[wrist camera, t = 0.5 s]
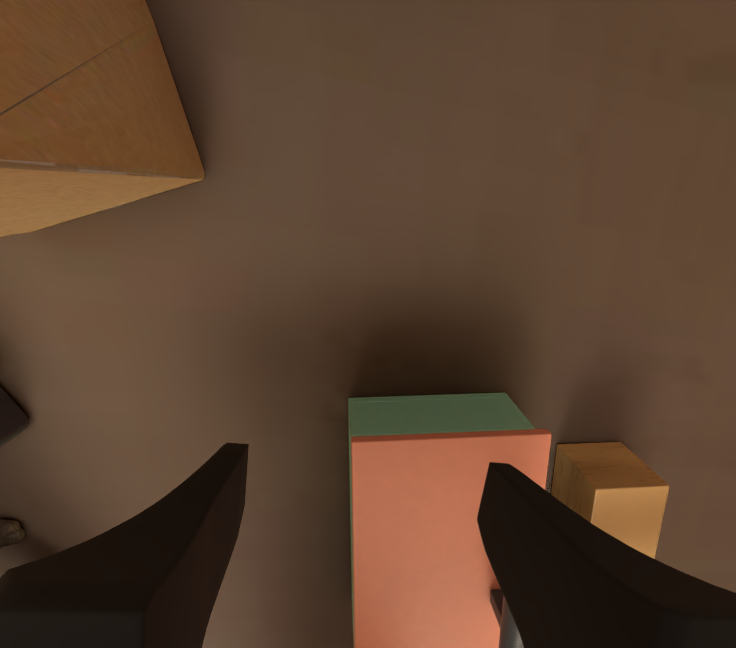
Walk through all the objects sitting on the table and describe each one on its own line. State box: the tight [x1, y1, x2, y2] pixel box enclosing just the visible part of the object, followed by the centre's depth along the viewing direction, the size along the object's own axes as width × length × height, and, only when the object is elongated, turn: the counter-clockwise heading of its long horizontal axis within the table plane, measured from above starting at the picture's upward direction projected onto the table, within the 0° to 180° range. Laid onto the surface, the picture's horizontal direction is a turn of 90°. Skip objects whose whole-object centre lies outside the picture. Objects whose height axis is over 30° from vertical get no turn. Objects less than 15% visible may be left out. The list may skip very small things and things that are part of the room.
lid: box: [351, 429, 552, 648], centre depth 21 cm, size 9×13×4 cm, turn 0°
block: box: [551, 442, 669, 559], centre depth 24 cm, size 5×4×4 cm
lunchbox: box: [348, 392, 535, 642], centre depth 24 cm, size 8×13×4 cm, turn 0°
